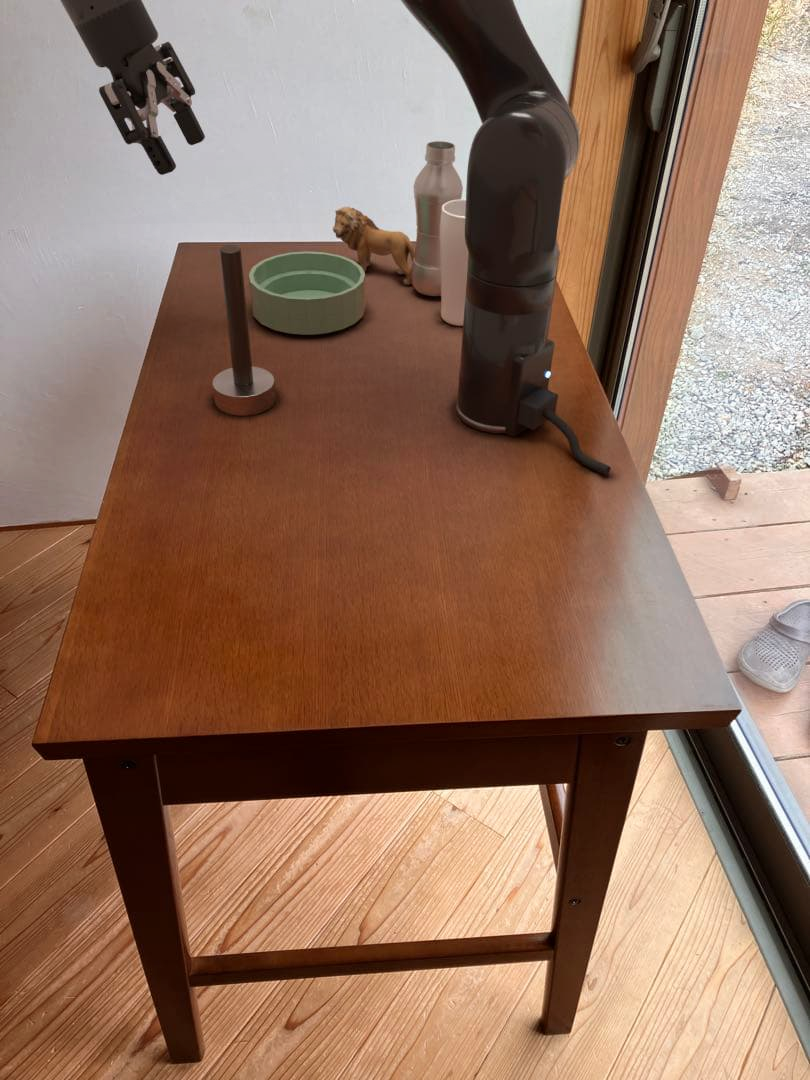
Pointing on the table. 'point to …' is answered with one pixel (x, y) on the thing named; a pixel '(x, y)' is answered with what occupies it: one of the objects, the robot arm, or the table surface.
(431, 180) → the plastic bottle
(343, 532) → the table surface
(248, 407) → the peg stand
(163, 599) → the table surface
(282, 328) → the bowl
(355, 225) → the lion figurine
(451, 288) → the drinking glass
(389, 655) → the table surface
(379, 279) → the table surface
